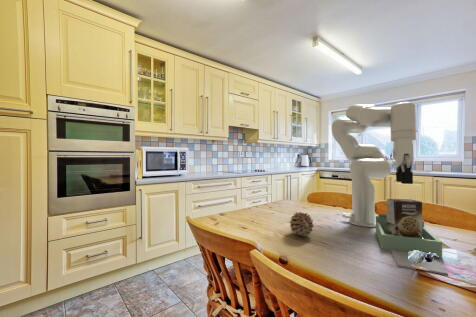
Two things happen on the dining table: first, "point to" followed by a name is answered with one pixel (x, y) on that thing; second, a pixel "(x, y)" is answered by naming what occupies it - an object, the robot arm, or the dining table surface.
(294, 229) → the pine cone
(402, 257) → the mat
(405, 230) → the cookie box
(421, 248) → the tray
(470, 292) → the dining table surface
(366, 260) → the dining table surface
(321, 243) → the dining table surface
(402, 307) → the dining table surface
